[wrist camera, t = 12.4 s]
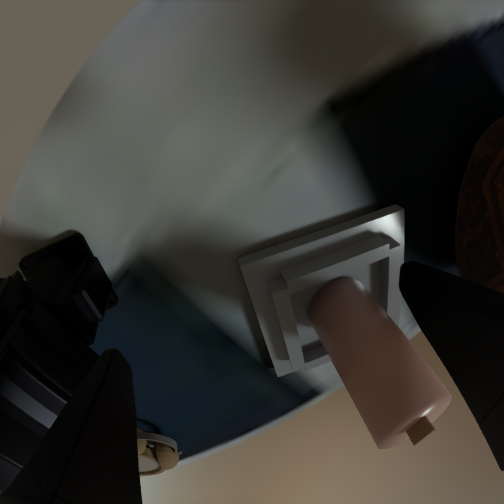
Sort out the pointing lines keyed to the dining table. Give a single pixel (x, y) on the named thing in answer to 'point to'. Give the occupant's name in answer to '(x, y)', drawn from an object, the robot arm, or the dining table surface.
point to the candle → (377, 364)
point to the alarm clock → (156, 453)
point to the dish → (322, 280)
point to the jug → (482, 212)
